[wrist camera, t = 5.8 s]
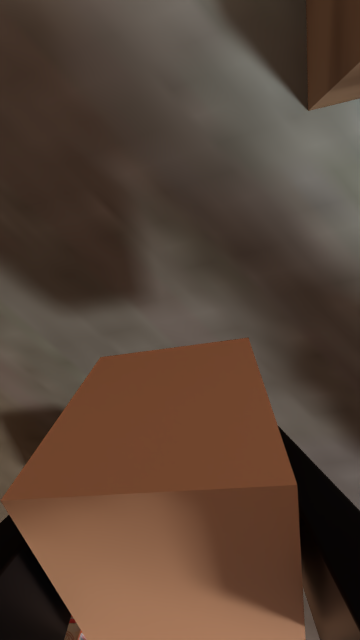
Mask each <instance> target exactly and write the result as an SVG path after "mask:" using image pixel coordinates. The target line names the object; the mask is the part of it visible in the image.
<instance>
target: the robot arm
mask: <svg viewBox="0 0 360 640" xmlns="http://www.w3.org/2000/svg"><path fill="white" fill-rule="evenodd" d="M278 428H279V431H280V434H281V437H282V440H283V443H284V446H285V449H286V452H287V455H288V458H289V461H290V464H291V467H292V470H293V473H294V476H295V479H296V482H297V489H298V508H299V528H300V547H301V566H302V585H303V589H304V592H305V595H306V598H307V601H308V604H309V607H310V610H311V613H312V616H313V619H314V622H315V625H316V628H317V631H318V635H319V638H320V640H360V511H359V509H358V508H357V507H356V506H355V505H354V504H353V503H352V502H351V501H350V500H349V499H348V498H347V497H346V496H345V495H344V494H343V493H342V492H341V491H340V490H339V489H338V488H337V487H336V486H335V484H334V483H333V482H332V481H331V480H330V479H329V478H328V477H327V476H326V475H325V474H324V473H323V472H322V471H321V470H320V469H319V468H318V467H317V466H316V465H315V464H314V463H313V462H312V461H311V459H310V458H309V457H308V456H307V455H306V454H305V453H304V452H303V451H302V450H301V449H300V448H299V447H298V446H297V445H296V444H295V443H294V442H293V441H292V440H291V439H290V438H289V437H288V436H287V434H286V433H285V432H284V431H283V430H282V429H281V428H280V427H279V426H278ZM70 618H71V613H70V612H69V610H68V608H67V607H66V605H65V603H64V602H63V600H62V599H61V597H60V595H59V594H58V592H57V591H56V589H55V587H54V586H53V584H52V583H51V581H50V579H49V578H48V576H47V575H46V573H45V571H44V570H43V568H42V567H41V565H40V563H39V562H38V560H37V558H36V557H35V555H34V554H33V552H32V550H31V549H30V547H29V546H28V544H27V542H26V541H25V539H24V538H23V536H22V534H21V533H20V531H19V530H18V528H17V526H16V525H15V523H14V521H13V520H12V518H11V517H10V515H8V516H7V517H6V518H5V519H4V520H3V521H2V522H1V523H0V640H64V639H65V635H66V632H67V629H68V625H69V622H70Z"/></svg>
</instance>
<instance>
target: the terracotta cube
mask: <svg viewBox="0 0 360 640" xmlns="http://www.w3.org/2000/svg"><path fill="white" fill-rule="evenodd" d="M1 502H2V504H3V505H4V507H5V509H6V510H7V512H8V513H9V515H10V517H11V518H12V520H13V521H14V523H15V525H16V526H17V528H18V530H19V531H20V533H21V534H22V536H23V538H24V539H25V541H26V542H27V544H28V546H29V547H30V549H31V550H32V552H33V554H34V555H35V557H36V558H37V560H38V562H39V563H40V565H41V567H42V568H43V570H44V571H45V573H46V575H47V576H48V578H49V579H50V581H51V583H52V584H53V586H54V587H55V589H56V591H57V592H58V594H59V595H60V597H61V599H62V600H63V602H64V603H65V605H66V607H67V608H68V610H69V612H70V613H71V615H72V616H73V618H74V620H75V621H76V623H77V624H78V626H79V628H80V629H81V631H82V632H83V634H84V636H85V637H86V639H87V640H305V624H304V605H303V585H302V566H301V547H300V528H299V508H298V489H297V482H296V479H295V476H294V473H293V470H292V467H291V464H290V461H289V458H288V455H287V452H286V449H285V446H284V443H283V440H282V437H281V434H280V431H279V428H278V425H277V422H276V419H275V416H274V413H273V410H272V407H271V404H270V401H269V398H268V395H267V392H266V389H265V386H264V383H263V380H262V377H261V374H260V371H259V368H258V365H257V362H256V359H255V356H254V353H253V350H252V347H251V344H250V341H249V338H242V339H235V340H227V341H220V342H212V343H205V344H197V345H189V346H182V347H174V348H167V349H159V350H152V351H144V352H137V353H129V354H122V355H114V356H107V357H100V359H99V360H98V362H97V363H96V365H95V366H94V367H93V369H92V370H91V372H90V373H89V375H88V376H87V377H86V379H85V380H84V382H83V383H82V385H81V386H80V387H79V389H78V390H77V392H76V393H75V395H74V396H73V397H72V399H71V400H70V402H69V403H68V405H67V406H66V407H65V409H64V410H63V412H62V413H61V415H60V416H59V418H58V419H57V420H56V422H55V423H54V425H53V426H52V428H51V429H50V430H49V432H48V433H47V435H46V436H45V438H44V439H43V440H42V442H41V443H40V445H39V446H38V448H37V449H36V450H35V452H34V453H33V455H32V456H31V458H30V459H29V460H28V462H27V463H26V465H25V466H24V468H23V469H22V470H21V472H20V473H19V475H18V476H17V478H16V479H15V480H14V482H13V483H12V485H11V486H10V488H9V489H8V491H7V492H6V493H5V495H4V496H3V498H2V499H1Z"/></svg>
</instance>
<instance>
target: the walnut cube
mask: <svg viewBox="0 0 360 640" xmlns="http://www.w3.org/2000/svg"><path fill="white" fill-rule="evenodd" d="M306 19H307V74H308V111H310V110H314V109H318V108H322V107H326V106H330V105H334V104H338V103H343V102H347V101H351V100H355V99H359V98H360V0H306Z"/></svg>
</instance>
